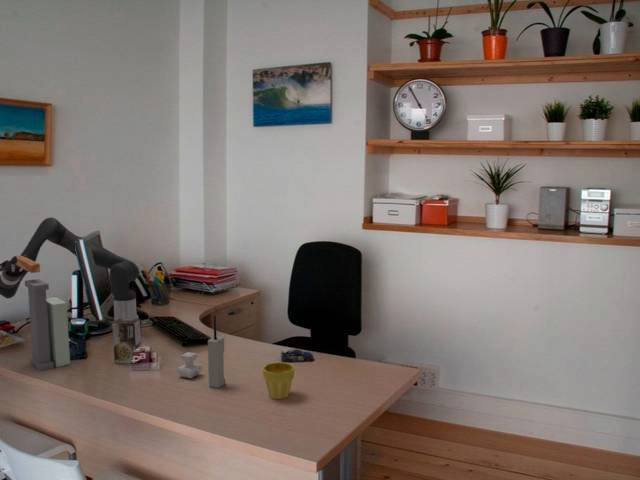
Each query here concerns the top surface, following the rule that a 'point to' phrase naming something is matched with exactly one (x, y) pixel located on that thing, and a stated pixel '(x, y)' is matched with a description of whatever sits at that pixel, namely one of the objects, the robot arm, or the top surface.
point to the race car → (296, 356)
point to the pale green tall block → (58, 331)
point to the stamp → (189, 366)
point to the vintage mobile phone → (216, 360)
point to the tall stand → (39, 324)
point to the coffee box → (126, 339)
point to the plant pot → (278, 379)
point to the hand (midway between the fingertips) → (20, 257)
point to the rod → (27, 264)
